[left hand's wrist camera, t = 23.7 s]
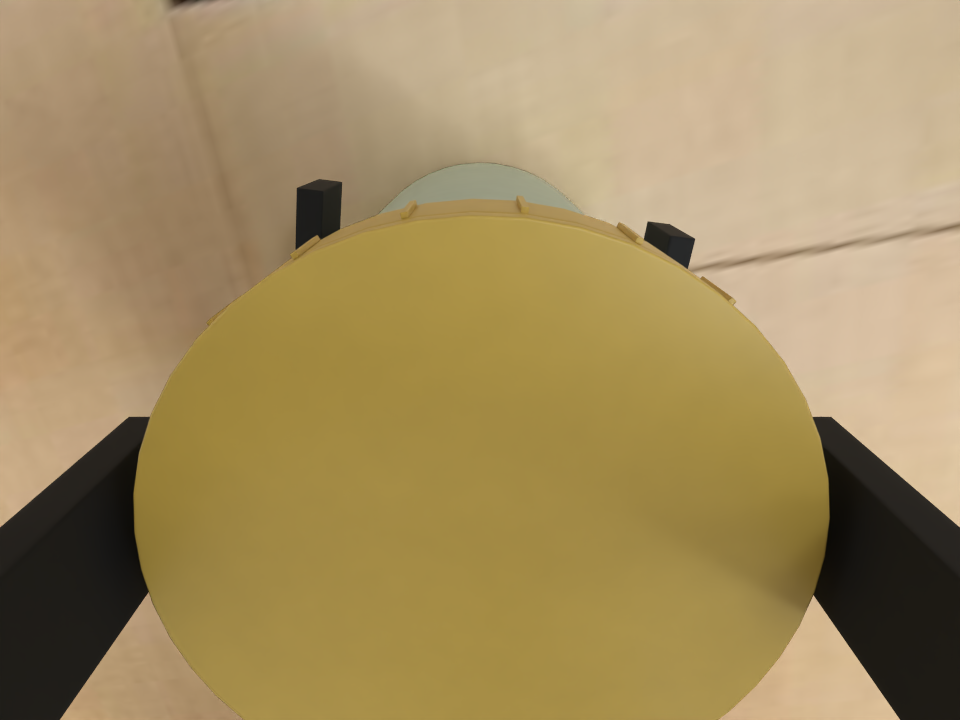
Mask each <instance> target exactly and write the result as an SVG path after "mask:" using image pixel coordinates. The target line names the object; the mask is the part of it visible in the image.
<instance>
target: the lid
mask: <svg viewBox="0 0 960 720" xmlns="http://www.w3.org/2000/svg"><path fill="white" fill-rule="evenodd" d="M290 256H291V257H292V258H291V259H290V260H288V261H287V262H286V263H284V264H283V265H282V266H280V267H279V268H278V269H276V270H275V271H274V272H272V273H271V274H270V275H268V276H267V277H266V278H264V279H263V280H262V281H261V282H259V283H258V284H257V285H255V286H254V287H253V288H251V289H250V290H249V291H247V292H246V293H245V294H243V295H242V296H240V297H238V298H237V299H236V300H234V301H233V302H232V303H230V304H229V305H228V306H226V307H225V308H224V309H222V310H221V311H220V312H218V313H217V314H216V315H214V316H213V317H212V318H210V319H209V320H208V322H207V323H206V324H208V325H209V326H208V327H207V328H206V329H205V330H204V331H203V333H202V334H201V335H200V336H199V337H198V338H197V339H196V340H195V341H194V343H193V344H192V346H191V347H190V348H189V350H188V351H187V353H186V354H185V355H184V357H183V358H182V360H181V361H180V362H179V364H178V365H177V367H176V368H175V369H174V371H173V372H172V374H171V375H170V377H169V379H168V381H167V383H166V385H165V387H164V389H163V391H162V393H161V395H160V397H159V399H158V401H157V403H156V405H155V407H154V409H153V411H152V413H151V416H150V419H149V422H148V426H147V429H146V432H145V435H144V439H143V442H142V445H141V448H140V451H139V457H138V464H137V471H136V479H135V486H134V493H133V497H134V533H135V539H136V544H137V550H138V555H139V561H140V566H141V571H142V573H143V576H144V579H145V582H146V585H147V588H148V591H149V594H150V597H151V600H152V603H153V605H154V607H155V609H156V611H157V613H158V615H159V617H160V619H161V621H162V623H163V625H164V627H165V629H166V631H167V633H168V635H169V637H170V638H171V640H172V641H173V643H174V644H175V645H176V647H177V648H178V650H179V651H180V653H181V654H182V656H183V657H184V658H185V660H186V661H187V663H188V664H189V666H190V667H191V668H192V669H193V671H194V672H195V673H196V674H197V675H198V676H199V677H200V678H201V679H202V681H203V682H204V683H205V684H206V685H207V686H208V687H209V688H210V689H211V691H212V692H213V693H214V694H215V695H216V696H217V697H218V698H219V699H221V700H222V701H223V702H224V703H225V704H226V705H227V706H229V707H230V708H231V709H232V710H233V711H234V712H235V713H237V714H238V715H239V716H240V717H241V718H242V719H243V720H718V719H720V718H721V717H722V716H724V715H725V714H726V713H728V712H729V711H730V710H731V709H732V708H733V707H734V706H735V705H736V704H737V703H739V702H740V701H741V700H742V699H743V698H744V697H745V696H746V695H747V694H748V693H749V692H750V691H751V690H752V689H753V688H754V687H755V686H756V685H757V684H758V683H759V682H760V680H761V679H762V678H763V677H764V676H765V674H766V673H767V672H768V671H769V670H770V668H771V667H772V666H773V665H774V664H775V662H776V661H777V660H778V659H779V657H780V656H781V654H782V653H783V651H784V650H785V648H786V646H787V645H788V643H789V642H790V640H791V638H792V637H793V635H794V634H795V632H796V630H797V629H798V627H799V626H800V623H801V621H802V619H803V617H804V614H805V612H806V610H807V608H808V606H809V603H810V601H811V599H812V597H813V594H814V592H815V589H816V585H817V582H818V578H819V575H820V571H821V568H822V564H823V561H824V557H825V551H826V543H827V535H828V527H829V519H830V514H829V483H828V475H827V469H826V464H825V459H824V454H823V449H822V444H821V439H820V436H819V433H818V431H817V428H816V425H815V423H814V420H813V417H812V415H811V412H810V409H809V407H808V404H807V401H806V399H805V397H804V395H803V394H802V392H801V390H800V388H799V387H798V385H797V383H796V381H795V379H794V378H793V376H792V374H791V373H790V371H789V369H788V367H787V366H786V364H785V362H784V361H783V360H782V358H781V357H780V356H779V355H778V353H777V352H776V351H775V350H774V348H773V347H772V346H771V345H770V343H769V342H768V341H767V340H766V338H765V337H764V336H763V335H762V333H761V332H760V331H759V330H758V328H757V327H756V326H755V325H754V324H753V323H752V322H751V321H750V320H748V319H747V318H746V317H745V316H744V315H743V314H742V313H741V312H740V311H739V310H738V309H736V308H735V307H734V306H733V304H735V303H736V301H735V300H734V299H733V298H732V297H731V296H729V295H728V294H727V293H725V292H724V291H723V290H721V289H720V288H718V287H717V286H716V285H714V284H713V283H711V282H710V281H709V280H707V279H706V278H705V277H702V278H701V279H700V278H698V277H697V276H696V275H694V274H693V273H692V272H690V271H689V270H688V269H686V268H685V267H684V266H682V265H681V264H679V263H678V262H676V261H675V260H673V259H672V258H670V257H669V256H667V255H666V254H664V253H663V252H661V251H660V250H659V249H657V248H656V247H654V246H653V245H651V244H650V243H648V242H646V241H644V239H643V238H642V237H640V236H639V235H638V234H636V233H635V232H634V231H632V230H631V229H630V228H628V227H627V226H626V225H624V224H622V223H620V222H619V223H618V225H617V227H615V226H613V225H611V224H609V223H607V222H604V221H601V220H598V219H595V218H592V217H589V216H585V215H582V214H579V213H576V212H573V211H570V210H567V209H563V208H558V207H552V206H546V205H541V204H535V203H530V202H526V201H525V199H524V197H523V196H518V195H517V197H516V200H492V199H464V200H453V201H442V202H431V203H424V204H420V205H417V202H416V200H413V201H409V203H408V204H407V205H406V206H405V208H403V209H398V210H394V211H390V212H385V213H381V214H379V215H376V216H374V217H371V218H368V219H366V220H363V221H360V222H358V223H355V224H353V225H350V226H347V227H345V228H342V229H340V230H338V231H336V232H334V233H332V234H331V235H329V236H327V237H325V238H323V239H321V240H320V238H319V237H318V235H317V236H315V237H313V238H312V239H310V240H309V241H308V242H306V243H305V244H303V245H302V246H301V247H299V248H298V249H297V250H295V251H294V252H293V253H291V254H290Z"/></svg>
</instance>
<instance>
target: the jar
mask: <svg viewBox="0 0 960 720" xmlns="http://www.w3.org/2000/svg"><path fill="white" fill-rule="evenodd" d="M517 195H518V196H523V197H524V199H525V201H526V202H530V203H535V204H541V205H546V206H552V207H558V208H563V209H567V210H570V211H573V212H576V213H579V214H582V215H584V214H583V213H582V212H581V211H580V210H579V209H578V208H577V207H576V206H575V205H574V204H572V203H571V202H570V201H569V200H568V199H567V198H566V197H565V196H564V195H563V194H562V193H561V192H559V191H558V190H557V189H556V188H554V187H553V186H552V185H550V184H549V183H547V182H546V181H544V180H543V179H541V178H539V177H537V176H535V175H533V174H531V173H529V172H526V171H523V170H520V169H517V168H514V167H510V166H505V165H500V164H493V163H470V164H460V165H456V166H451V167H447V168H444V169H441V170H438V171H436V172H433V173H430V174H428V175H426V176H424V177H423V178H421V179H419V180H417V181H415V182H414V183H412V184H411V185H410V186H408V187H407V188H406V189H404V190H403V191H401V192H400V193H399V194H398V195H397V196H396V197H395V198H394V199H393V200H392V201H391V202H390V203H389V204H388V205H387V206H386V207H385V208H384V209H383V210H382V211H381V212H380V213H379V214H381V213H385V212H390V211H394V210H398V209H403V208H405V206H406V205H407V204H408V203H409V201H413V200H416V202H417V205H420V204H424V203H431V202H442V201H453V200H464V199H492V200H516V197H517ZM379 214H378V215H379Z"/></svg>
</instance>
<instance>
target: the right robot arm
mask: <svg viewBox="0 0 960 720" xmlns="http://www.w3.org/2000/svg"><path fill="white" fill-rule="evenodd" d="M341 195H342V182H337V181H329V180H321V179H318V180H316V181H313V182H311V183H308V184H306V185H303V186H301V187H298V188H297V209H296V250H297V249H298V248H299V247H301V246H302V245H303V244H305V243H306V242H308V241H309V240H310V239H312V238H313V237H315V236H317V235H318V237H319V238H320V240H321V239H323V238H325V237H327V236H329V235H331V234H332V233H334V232H336V231H338V230H340V216H341ZM644 241H646V242H648V243H650V244H651V245H653V246H654V247H656V248H657V249H659V250H660V251H661V252H663V253H664V254H666V255H667V256H669V257H670V258H672V259H673V260H675V261H676V262H678V263H679V264H681V265H682V266H684V267H685V268H686V269H688V266H689V262H690V258H691V254H692V250H693V245H694V241H695V239H694V238H693V237H691V236H689V235H687V234H686V233H684V232H682V231H680V230H679V229H677V228H675V227H673V226H672V225H670V224H663V223H655V222H648V223H647V227H646V232H645V237H644Z"/></svg>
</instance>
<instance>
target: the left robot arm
mask: <svg viewBox="0 0 960 720" xmlns="http://www.w3.org/2000/svg"><path fill="white" fill-rule="evenodd" d="M149 419H150V417H128V418H127V419H126V420H125V421H124V422H123V423H121V424H120V425H119V426H118V427H117V428H116V429H114V430H113V431H112V432H111V433H110V434H109V435H107V436H106V437H105V438H104V439H103V440H102V441H100V442H99V443H98V444H97V445H96V446H95V447H93V448H92V449H91V450H90V451H89V452H88V453H86V454H85V455H84V456H83V457H82V458H81V459H79V460H78V461H77V462H76V463H75V464H74V465H72V466H71V467H70V468H69V469H68V470H67V471H65V472H64V473H63V474H62V475H61V476H60V477H59V478H57V479H56V480H55V481H54V482H53V483H52V484H50V485H49V486H48V487H47V488H46V489H45V490H43V491H42V492H41V493H40V494H39V495H38V496H36V497H35V498H34V499H33V500H32V501H31V502H29V503H28V504H27V505H26V506H25V507H24V508H22V509H21V510H20V511H19V512H18V513H17V514H15V515H14V516H13V517H12V518H11V519H10V520H8V521H7V522H6V523H5V524H4V525H3V526H1V527H0V720H60V719H61V717H62V716H63V714H64V713H65V711H66V710H67V709H68V707H69V706H70V704H71V703H72V701H73V700H74V699H75V697H76V696H77V694H78V693H79V691H80V690H81V688H82V687H83V686H84V684H85V683H86V681H87V680H88V678H89V677H90V676H91V674H92V673H93V671H94V670H95V668H96V667H97V665H98V664H99V663H100V661H101V660H102V658H103V657H104V655H105V654H106V652H107V651H108V650H109V648H110V647H111V645H112V644H113V642H114V641H115V640H116V638H117V637H118V635H119V634H120V632H121V631H122V629H123V628H124V627H125V625H126V624H127V622H128V621H129V619H130V618H131V617H132V615H133V614H134V612H135V611H136V609H137V608H138V606H139V605H140V604H141V602H142V601H143V599H144V598H145V596H146V595H147V594H148V592H149V591H148V588H147V585H146V582H145V579H144V576H143V573H142V571H141V566H140V561H139V555H138V550H137V544H136V539H135V533H134V497H133V493H134V486H135V479H136V471H137V464H138V457H139V451H140V448H141V445H142V442H143V439H144V435H145V432H146V429H147V426H148V422H149ZM813 420H814V423H815V425H816V428H817V431H818V433H819V436H820V439H821V444H822V449H823V454H824V459H825V464H826V469H827V475H828V483H829V514H830V519H829V527H828V535H827V543H826V551H825V557H824V561H823V564H822V568H821V571H820V575H819V578H818V582H817V585H816V589H815V592H814V594H813V595H814V596H815V598H816V599H817V601H818V602H819V604H820V605H821V606H822V608H823V609H824V611H825V612H826V614H827V615H828V617H829V618H830V619H831V621H832V622H833V624H834V625H835V627H836V628H837V629H838V631H839V632H840V634H841V635H842V637H843V638H844V640H845V641H846V642H847V644H848V645H849V647H850V648H851V650H852V651H853V652H854V654H855V655H856V657H857V658H858V660H859V661H860V663H861V664H862V665H863V667H864V668H865V670H866V671H867V673H868V674H869V676H870V677H871V678H872V680H873V681H874V683H875V684H876V686H877V687H878V688H879V690H880V691H881V693H882V694H883V696H884V697H885V699H886V700H887V701H888V703H889V704H890V706H891V707H892V709H893V710H894V711H895V713H896V714H897V716H898V717H899V719H900V720H960V527H959V526H957V525H956V524H955V523H954V522H953V521H952V520H950V519H949V518H948V517H947V516H946V515H945V514H943V513H942V512H941V511H940V510H939V509H938V508H936V507H935V506H934V505H933V504H932V503H931V502H929V501H928V500H927V499H926V498H925V497H924V496H922V495H921V494H920V493H919V492H918V491H917V490H915V489H914V488H913V487H912V486H911V485H910V484H908V483H907V482H906V481H905V480H904V479H903V478H901V477H900V476H899V475H898V474H897V473H896V472H895V471H893V470H892V469H891V468H890V467H889V466H888V465H886V464H885V463H884V462H883V461H882V460H881V459H879V458H878V457H877V456H876V455H875V454H874V453H872V452H871V451H870V450H869V449H868V448H867V447H865V446H864V445H863V444H862V443H861V442H860V441H858V440H857V439H856V438H855V437H854V436H853V435H851V434H850V433H849V432H848V431H847V430H846V429H844V428H843V427H842V426H841V425H840V424H839V423H837V422H836V421H835V420H834V419H833V418H832V417H813Z"/></svg>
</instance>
